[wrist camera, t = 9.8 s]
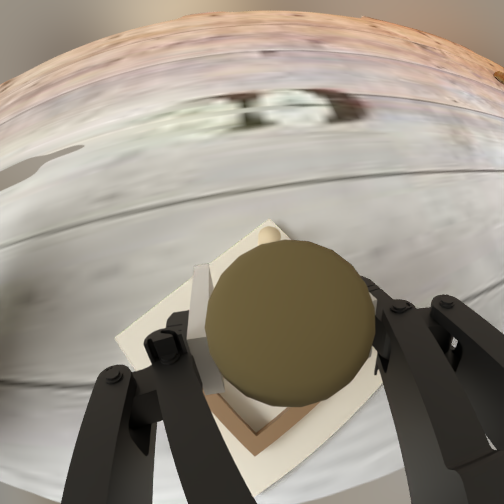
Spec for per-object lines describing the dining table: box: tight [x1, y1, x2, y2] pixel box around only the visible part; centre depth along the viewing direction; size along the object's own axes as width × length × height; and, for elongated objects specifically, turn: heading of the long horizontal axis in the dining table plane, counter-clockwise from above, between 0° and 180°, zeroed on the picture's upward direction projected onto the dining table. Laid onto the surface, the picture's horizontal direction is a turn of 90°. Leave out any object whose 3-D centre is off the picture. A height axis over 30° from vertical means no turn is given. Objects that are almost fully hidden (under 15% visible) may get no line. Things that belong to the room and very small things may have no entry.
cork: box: [205, 240, 375, 407], centre depth 12 cm, size 6×6×11 cm
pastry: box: [494, 71, 504, 84], centre depth 56 cm, size 9×7×4 cm
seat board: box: [114, 219, 383, 497], centre depth 21 cm, size 18×18×4 cm
